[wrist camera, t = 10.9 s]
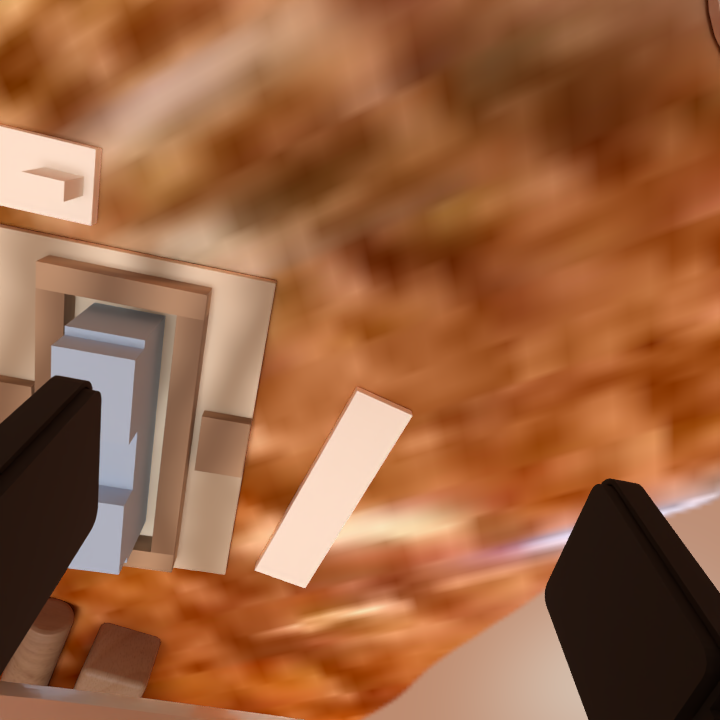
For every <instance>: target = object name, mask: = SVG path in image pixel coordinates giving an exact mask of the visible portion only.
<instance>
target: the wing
mask: <svg viewBox="0 0 720 720" xmlns="http://www.w3.org/2000/svg"><path fill="white" fill-rule="evenodd" d="M411 417H412V412H411V410H409V409H406V408H404V407H402V406H400V405H397V404H395V403H393V402H391V401H389V400H386V399H384V398H382V397H380V396H377V395H375V394H373V393H371V392H369V391H366V390H364V389H362V388H360V387H356V388H355V390H354V392H353V394H352V395H351V397H350V399H349V401H348V403H347V404H346V406H345V408H344V410H343V411H342V413H341V415H340V417H339V418H338V420H337V422H336V424H335V425H334V427H333V429H332V431H331V432H330V434H329V436H328V438H327V439H326V441H325V443H324V445H323V446H322V448H321V450H320V452H319V453H318V455H317V457H316V459H315V460H314V462H313V464H312V466H311V468H310V469H309V471H308V473H307V475H306V476H305V478H304V480H303V482H302V483H301V485H300V487H299V489H298V490H297V492H296V494H295V496H294V497H293V499H292V501H291V503H290V504H289V506H288V508H287V510H286V511H285V513H284V515H283V517H282V518H281V520H280V522H279V524H278V525H277V527H276V529H275V531H274V533H273V534H272V536H271V538H270V540H269V541H268V543H267V545H266V547H265V548H264V550H263V552H262V554H261V555H260V557H259V559H258V561H257V562H256V565H255V571H258V572H261V573H264V574H266V575H269V576H272V577H275V578H278V579H280V580H283V581H286V582H289V583H292V584H294V585H297V586H300V587H303V588H306V586H307V584H308V583H309V581H310V580H311V578H312V576H313V575H314V573H315V572H316V570H317V568H318V567H319V565H320V563H321V562H322V560H323V559H324V557H325V555H326V554H327V552H328V551H329V549H330V547H331V546H332V544H333V543H334V541H335V539H336V538H337V536H338V535H339V533H340V531H341V530H342V528H343V526H344V525H345V523H346V522H347V520H348V518H349V517H350V515H351V514H352V512H353V510H354V509H355V507H356V506H357V504H358V502H359V501H360V499H361V498H362V496H363V494H364V493H365V491H366V489H367V488H368V486H369V485H370V483H371V481H372V480H373V478H374V477H375V475H376V473H377V472H378V470H379V469H380V467H381V465H382V464H383V462H384V461H385V459H386V457H387V456H388V454H389V452H390V451H391V449H392V448H393V446H394V444H395V443H396V441H397V440H398V438H399V436H400V435H401V433H402V432H403V430H404V428H405V427H406V425H407V424H408V422H409V420H410V419H411Z"/></svg>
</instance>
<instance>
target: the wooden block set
mask: <svg viewBox="0 0 720 720" xmlns="http://www.w3.org/2000/svg"><path fill="white" fill-rule="evenodd" d="M73 621H74V613H73V610H72V608H71V607H70V606H69V605H68V604H67V603H66V602H64V601H62V600H58V599H54V598H49V599H48V600H47V602H46V604H45V605H44V607H43V608H42V610H41V612H40V613H39V615H38V616H37V618H36V620H35V621H34V623H33V624H32V626H31V628H30V629H29V631H28V632H27V634H26V636H25V637H24V639H23V640H22V642H21V644H20V645H19V647H18V648H17V650H16V652H15V653H14V655H13V656H12V658H11V660H10V661H9V663H8V664H7V666H6V668H5V670H4V672H3V675H2V678H1V681H6V682H15V683H23V684H32V685H41V686H48V683H49V681H50V678H51V676H52V674H53V671H54V669H55V666H56V664H57V661H58V659H59V656H60V654H61V651H62V649H63V646H64V644H65V641H66V639H67V637H68V634H69V632H70V629H71V627H72V624H73ZM160 643H161V642H160V639H159V638H157V637H155V636H152V635H148V634H145V633H141V632H138V631H135V630H131V629H128V628H124V627H121V626H118V625H114V624H111V623H104V624H103V625H101V627H100V629H99V632H98V634H97V636H96V638H95V641H94V643H93V645H92V647H91V650H90V652H89V654H88V657H87V659H86V661H85V663H84V666H83V668H82V670H81V672H80V675H79V677H78V679H77V682H76V684H75V686H74V689H75V690H84V691H92V692H101V693H109V694H116V695H124V696H131V697H139V698H141V697H142V695H143V693H144V691H145V689H146V687H147V684H148V681H149V678H150V674H151V671H152V668H153V665H154V662H155V659H156V656H157V652H158V649H159V646H160Z"/></svg>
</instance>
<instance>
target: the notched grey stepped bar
mask: <svg viewBox="0 0 720 720" xmlns="http://www.w3.org/2000/svg"><path fill="white" fill-rule="evenodd" d="M165 317H166V316H164V315H159V314H154V313H148V312H143V311H138V310H132V309H127V308H122V307H116V306H111V305H106V304H100V303H93V304H92V305H91V306H89V307H88V308H87V309H86V310H84V311H83V312H82V313H81V314H79V315H78V316H77V317H75V318H74V319H73V320H72V321H70V322H69V323H68V324H66V325H65V335H64V336H62V337H61V338H60V339H59V340H58V341H56V342H55V343H54V344H53V345H51V378H52V377H53V376H55V375H59V376H65V377H70V378H75V379H81V380H86V381H90V383H91V384H92V387H93V390H96V391H99V392H100V393H101V398H102V403H101V433H100V463H99V492H98V512H97V517H96V520H95V523H94V526H93V528H92V530H91V531H90V533H89V535H88V536H87V538H86V539H85V541H84V543H83V544H82V546H81V548H80V549H79V551H78V552H77V554H76V556H75V557H74V559H73V560H72V562H71V564H70V565H69V567H68V568H72V569H79V570H87V571H95V572H103V573H110V574H118V575H119V573H120V571H121V569H122V566H123V564H124V563H127V561H128V559H129V556H130V554H131V552H132V550H133V548H134V546H135V543H136V541H137V539H138V537H139V535H140V532H141V530H142V528H143V526H144V524H145V522H146V514H147V504H148V494H149V483H150V473H151V462H152V452H153V442H154V431H155V421H156V410H157V400H158V390H159V379H160V369H161V358H162V348H163V337H164V327H165Z"/></svg>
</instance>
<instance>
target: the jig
mask: <svg viewBox="0 0 720 720" xmlns="http://www.w3.org/2000/svg"><path fill="white" fill-rule="evenodd" d="M276 282H277V281H275V280H270V279H265V278H260V277H255V276H251V275H246V274H241V273H236V272H231V271H226V270H221V269H216V268H212V267H207V266H202V265H197V264H192V263H187V262H182V261H178V260H173V259H168V258H163V257H158V256H153V255H148V254H143V253H139V252H134V251H129V250H124V249H119V248H114V247H109V246H105V245H100V244H95V243H90V242H85V241H80V240H75V239H70V238H66V237H61V236H56V235H51V234H46V233H41V232H36V231H32V230H27V229H22V228H17V227H12V226H7V225H2V224H0V423H2V422H3V421H4V420H5V419H6V418H7V417H8V416H9V415H10V414H12V413H13V412H14V411H15V410H16V409H17V408H18V407H19V406H20V405H22V404H23V403H24V402H25V401H26V400H27V399H28V398H29V397H30V396H32V395H33V394H34V393H35V392H36V391H37V390H38V389H39V388H40V387H42V386H43V385H44V384H45V383H46V382H47V381H48V380H49V379H50V378H51V345H53V344H54V343H55V342H56V341H58V340H59V339H60V338H61V337H62V336H64V335H65V325H66V324H68V323H69V322H70V321H72V320H73V319H74V318H75V317H77V316H78V315H79V314H81V313H82V312H83V311H84V310H86V309H87V308H88V307H89V306H91V305H92V304H93V303H100V304H106V305H111V306H116V307H122V308H127V309H132V310H138V311H143V312H148V313H154V314H159V315H164V316H166V317H165V327H164V337H163V348H162V358H161V369H160V379H159V390H158V400H157V410H156V421H155V431H154V442H153V452H152V462H151V473H150V483H149V494H148V504H147V514H146V522H145V524H144V526H143V528H142V530H141V532H140V535H139V537H138V539H137V541H136V543H135V546H134V548H133V550H132V552H131V554H130V556H129V559H128V561H127V563H124V564H123V566H127V567H135V568H142V569H149V570H157V571H164V572H172V569H173V567H174V568H181V569H188V570H196V571H203V572H210V573H218V574H225V572H226V567H227V561H228V556H229V550H230V544H231V539H232V533H233V527H234V522H235V516H236V510H237V504H238V499H239V493H240V487H241V482H242V476H243V470H244V465H245V459H246V453H247V447H248V442H249V436H250V430H251V425H252V419H253V413H254V408H255V402H256V396H257V390H258V385H259V379H260V373H261V368H262V362H263V356H264V351H265V345H266V339H267V333H268V328H269V322H270V316H271V311H272V305H273V299H274V294H275V288H276Z"/></svg>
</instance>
